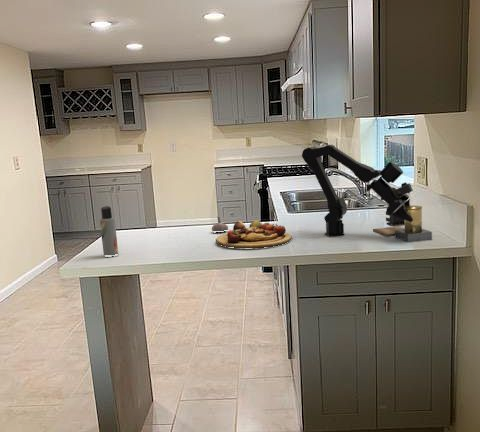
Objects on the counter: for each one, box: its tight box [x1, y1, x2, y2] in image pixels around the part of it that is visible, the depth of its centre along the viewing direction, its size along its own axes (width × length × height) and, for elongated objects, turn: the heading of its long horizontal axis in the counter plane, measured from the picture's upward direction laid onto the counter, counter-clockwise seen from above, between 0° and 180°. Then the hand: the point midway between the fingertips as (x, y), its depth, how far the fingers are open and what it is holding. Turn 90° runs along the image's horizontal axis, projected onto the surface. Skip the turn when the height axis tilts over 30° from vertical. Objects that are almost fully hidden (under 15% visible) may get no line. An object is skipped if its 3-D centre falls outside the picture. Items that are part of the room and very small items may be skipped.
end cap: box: [385, 210, 405, 226], centre depth 222 cm, size 10×7×7 cm
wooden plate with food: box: [215, 219, 293, 248], centre depth 207 cm, size 32×32×8 cm
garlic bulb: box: [211, 215, 229, 232], centre depth 229 cm, size 8×7×8 cm
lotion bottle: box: [99, 205, 119, 256], centre depth 196 cm, size 6×6×20 cm
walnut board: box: [372, 225, 405, 238], centre depth 206 cm, size 12×12×1 cm
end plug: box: [404, 205, 423, 233], centre depth 193 cm, size 7×7×12 cm
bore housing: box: [394, 228, 433, 243], centre depth 194 cm, size 10×10×3 cm
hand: (414, 219), depth 193 cm, fingers open, 9 cm apart
